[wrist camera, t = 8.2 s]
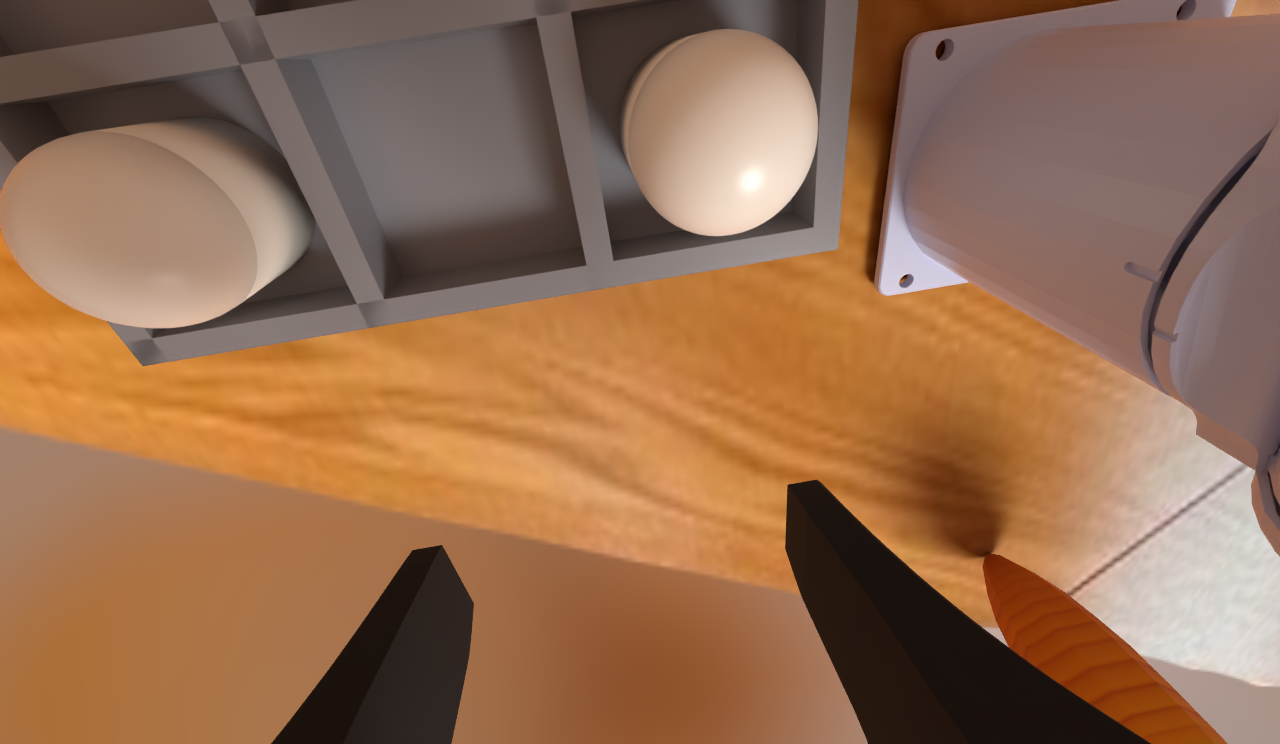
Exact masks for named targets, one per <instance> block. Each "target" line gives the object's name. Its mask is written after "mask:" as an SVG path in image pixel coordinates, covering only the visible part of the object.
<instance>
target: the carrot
mask: <svg viewBox="0 0 1280 744" xmlns="http://www.w3.org/2000/svg"><path fill="white" fill-rule="evenodd" d="M983 571H984V577H985V582H986V588H987V594H988V597H989V600H990V603H991V606H992V610H993V613H994V616H995V619H996V622H997V624H998V626H999V628H1000V630H1001V632H1002V634H1003V636H1004V638H1005V640H1006V642H1007V644H1008V646H1009V648H1010V649H1011V650H1013V651H1014V652H1016V653H1017V654H1018V655H1020V656H1021V657H1022V658H1024V659H1025V660H1027V661H1028V662H1029V663H1031V664H1032V665H1034V666H1035V667H1037V668H1038V669H1039V670H1041V671H1042V672H1044V673H1045V674H1046V675H1048V676H1049V677H1051V678H1052V679H1054V680H1055V681H1056V682H1058V683H1059V684H1061V685H1062V686H1064V687H1065V688H1067V689H1068V690H1070V691H1071V692H1073V693H1074V694H1076V695H1077V696H1079V697H1080V698H1082V699H1084V700H1085V701H1087V702H1088V703H1090V704H1091V705H1093V706H1094V707H1096V708H1097V709H1099V710H1100V711H1102V712H1103V713H1105V714H1107V715H1108V716H1110V717H1111V718H1113V719H1114V720H1116V721H1117V722H1119V723H1120V724H1122V725H1123V726H1125V727H1127V728H1128V729H1130V730H1131V731H1133V732H1134V733H1136V734H1137V735H1139V736H1140V737H1142V738H1143V739H1145V740H1147V741H1148V742H1150V743H1151V744H1227V743H1226V742H1225V740H1224V739H1223V738H1222V737H1221V736H1220V735H1219V734H1218V733H1217V732H1216V731H1215V730H1214V729H1213V728H1212V727H1211V726H1210V725H1209V724H1208V723H1207V722H1206V721H1205V720H1204V719H1203V718H1202V717H1201V716H1200V715H1199V714H1198V713H1197V712H1196V711H1195V710H1194V709H1193V708H1192V707H1191V706H1190V705H1189V703H1188V702H1186V700H1185V699H1184V698H1183V697H1182V696H1181V695H1180V694H1179V693H1178V692H1177V691H1176V690H1175V689H1174V688H1173V687H1172V686H1171V685H1170V684H1169V683H1168V682H1167V681H1165V680H1164V678H1162V677H1161V676H1160V675H1159V673H1157V672H1156V671H1155V670H1154V669H1153V668H1152V667H1151V666H1150V665H1149V664H1148V663H1147V662H1146V661H1145V660H1144V659H1143V658H1142V657H1141V656H1140V655H1139V654H1138V653H1137V652H1136V651H1135V650H1134V649H1133V648H1132V647H1131V646H1130V645H1129V644H1127V643H1126V642H1125V641H1124V640H1123V639H1121V638H1120V637H1119V636H1118V635H1117V634H1116V633H1114V632H1113V631H1112V630H1111V629H1110V628H1108V627H1107V626H1106V625H1105V624H1104V623H1102V622H1101V621H1100V620H1099V619H1098V618H1097V617H1095V616H1094V615H1093V614H1091V613H1090V612H1089V611H1088V610H1086V609H1085V608H1084V607H1083V606H1081V605H1080V604H1079V603H1078V602H1076V601H1075V600H1074V599H1073V598H1071V597H1070V596H1069V595H1067V594H1066V593H1065V592H1063V591H1062V590H1060V589H1059V588H1057V587H1056V586H1054V585H1052V584H1051V583H1049V582H1048V581H1046V580H1044V579H1043V578H1041V577H1040V576H1038V575H1036V574H1035V573H1033V572H1031V571H1029V570H1027V569H1025V568H1023V567H1021V566H1020V565H1018V564H1016V563H1014V562H1012V561H1010V560H1008V559H1006V558H1004V557H1002V556H1000V555H996V554H990V553H988V554H986V555H985V559H984V563H983Z"/></svg>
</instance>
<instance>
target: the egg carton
mask: <svg viewBox="0 0 1280 744" xmlns="http://www.w3.org/2000/svg"><path fill="white" fill-rule="evenodd" d="M858 2H859V0H0V189H1V195H0V227H1V231H2V234H3V237H4V240H5V242H6V245H7V247H8V249H9V251H10V252H11V254H12V256H13V257H14V259H15V260H16V262H17V263H18V264H19V265H20V267H21V268H22V269H23V270H24V271H25V272H26V273H27V275H28V276H29V277H30V278H31V279H32V280H33V281H35V282H36V283H37V284H38V285H39V286H40V287H41V288H43V289H44V290H45V291H47V292H48V293H49V294H51V295H52V296H54V297H55V298H57V299H58V300H60V301H61V302H63V303H65V304H67V305H68V306H70V307H72V308H74V309H76V310H79V311H81V312H83V313H85V314H88V315H91V316H93V317H96V318H99V319H102V320H106V321H107V322H108V323H109V325H110V326H111V327H112V328H113V330H114V331H115V332H116V333H117V335H118V336H119V337H120V338H121V340H122V341H123V342H124V343H125V344H126V346H127V347H128V348H129V349H130V351H131V352H132V353H133V354H134V356H135V357H136V358H137V359H138V361H139V362H140V363H141V364H142V366H147V365H153V364H159V363H164V362H170V361H176V360H182V359H188V358H194V357H200V356H206V355H212V354H218V353H224V352H230V351H236V350H242V349H248V348H254V347H260V346H265V345H271V344H277V343H283V342H289V341H295V340H301V339H307V338H313V337H319V336H325V335H331V334H337V333H343V332H349V331H355V330H360V329H366V328H372V327H378V326H384V325H390V324H396V323H402V322H408V321H414V320H420V319H426V318H432V317H438V316H444V315H450V314H456V313H461V312H467V311H473V310H479V309H485V308H491V307H497V306H503V305H509V304H515V303H521V302H527V301H533V300H539V299H545V298H551V297H557V296H562V295H568V294H574V293H580V292H586V291H592V290H598V289H604V288H610V287H616V286H622V285H628V284H634V283H640V282H646V281H652V280H657V279H663V278H669V277H675V276H681V275H687V274H693V273H699V272H705V271H711V270H717V269H723V268H729V267H735V266H741V265H747V264H753V263H758V262H764V261H770V260H776V259H782V258H788V257H794V256H800V255H806V254H812V253H818V252H824V251H830V250H836V249H838V242H839V230H840V218H841V206H842V194H843V182H844V170H845V158H846V146H847V134H848V122H849V110H850V98H851V86H852V74H853V62H854V50H855V38H856V26H857V14H858Z"/></svg>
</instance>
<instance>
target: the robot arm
mask: <svg viewBox="0 0 1280 744" xmlns="http://www.w3.org/2000/svg"><path fill="white" fill-rule="evenodd" d="M1235 3H1236V0H1117V1H1111V2H1105V3H1098V4H1092V5H1086V6H1080V7H1074V8H1068V9H1062V10H1055V11H1049V12H1043V13H1037V14H1031V15H1025V16H1019V17H1012V18H1006V19H1000V20H994V21H988V22H982V23H976V24H969V25H963V26H957V27H951V28H945V29H939V30H933V31H926V32H922V33H920V34H917V35H916V36H914V37H913V38H912V39H911V40H910V41H909V43H908V45H907V46H906V48H905V52H904V55H903V62H902V70H901V77H900V85H899V93H898V101H897V108H896V116H895V124H894V132H893V140H892V147H891V155H890V163H889V171H888V178H887V186H886V194H885V202H884V209H883V217H882V225H881V233H880V240H879V248H878V256H877V264H876V271H875V279H874V286H875V288H876V290H877V291H878V292H880V293H881V294H883V295H885V296H891V295H897V294H902V293H908V292H914V291H920V290H926V289H932V288H938V287H944V286H950V285H955V284H961V283H967V282H971V283H972V284H974V285H976V286H978V287H979V288H981V289H983V290H985V291H986V292H988V293H990V294H992V295H993V296H995V297H997V298H999V299H1000V300H1002V301H1004V302H1006V303H1007V304H1009V305H1011V306H1012V307H1014V308H1016V309H1018V310H1019V311H1021V312H1023V313H1025V314H1026V315H1028V316H1030V317H1032V318H1033V319H1035V320H1037V321H1039V322H1040V323H1042V324H1044V325H1046V326H1047V327H1049V328H1051V329H1053V330H1054V331H1056V332H1058V333H1060V334H1061V335H1063V336H1065V337H1067V338H1068V339H1070V340H1072V341H1074V342H1075V343H1077V344H1079V345H1081V346H1082V347H1084V348H1086V349H1088V350H1089V351H1091V352H1093V353H1095V354H1096V355H1098V356H1100V357H1102V358H1103V359H1105V360H1107V361H1109V362H1110V363H1112V364H1114V365H1116V366H1117V367H1119V368H1121V369H1123V370H1124V371H1126V372H1128V373H1130V374H1131V375H1133V376H1135V377H1137V378H1138V379H1140V380H1142V381H1144V382H1145V383H1147V384H1149V385H1151V386H1152V387H1154V388H1156V389H1158V390H1159V391H1161V392H1163V393H1165V394H1166V395H1169V396H1171V397H1173V398H1175V399H1176V400H1178V401H1180V402H1181V403H1183V404H1184V405H1186V406H1187V407H1189V408H1190V409H1192V410H1193V412H1194V414H1195V415H1196V419H1197V428H1196V435H1198V436H1200V437H1201V438H1203V439H1204V440H1206V441H1208V442H1209V443H1211V444H1213V445H1214V446H1216V447H1218V448H1219V449H1221V450H1223V451H1224V452H1226V453H1227V454H1229V455H1231V456H1232V457H1234V458H1236V459H1237V460H1239V461H1241V462H1242V463H1244V464H1246V465H1247V466H1249V467H1250V468H1252V469H1254V470H1255V474H1254V477H1253V480H1252V483H1251V490H1252V505H1253V508H1254V511H1255V514H1256V517H1257V520H1258V523H1259V526H1260V528H1261V530H1262V531H1263V533H1264V535H1265V536H1266V538H1267V539H1268V541H1269V542H1270V544H1271V546H1272V547H1273V549H1274V550H1275V552H1276V553H1277V554H1278V555H1279V556H1280V14H1270V15H1255V16H1239V17H1230V15H1231V13H1232V11H1233V8H1234V6H1235ZM1181 5H1182V8H1181V11H1180V13H1179V15H1178V16H1177V17H1176V15H1177V11H1178V9H1179V8H1180V6H1181ZM942 40H943V41H944V42H945V51H944V54H943V55H942V56H941V58H940V59H937V58H936V52H935V51H936V49H937V46H938V45H939V43H940V42H941V41H942ZM906 274H907V275H908V276H907V278H906V280H905V281H904V282H902V283H900V284H899V281H900V279H901V278H902V277H903V276H904V275H906ZM785 549H786V552H787V555H788V558H789V561H790V564H791V567H792V570H793V573H794V576H795V579H796V582H797V585H798V587H799V590H800V593H801V596H802V598H803V601H804V602H805V605H806V607H807V609H808V611H809V614H810V616H811V618H812V620H813V622H814V624H815V627H816V629H817V631H818V633H819V635H820V637H821V640H822V642H823V644H824V646H825V648H826V650H827V653H828V655H829V657H830V659H831V661H832V663H833V665H834V667H835V670H836V672H837V674H838V676H839V678H840V680H841V682H842V685H843V687H844V689H845V691H846V693H847V695H848V697H849V700H850V702H851V704H852V706H853V708H854V710H855V713H856V715H857V718H858V720H859V722H860V725H861V727H862V729H863V732H864V734H865V736H866V739H867V742H868V744H1151V743H1150V742H1148V741H1147V740H1145V739H1143V738H1142V737H1140V736H1139V735H1137V734H1136V733H1134V732H1133V731H1131V730H1130V729H1128V728H1127V727H1125V726H1123V725H1122V724H1120V723H1119V722H1117V721H1116V720H1114V719H1113V718H1111V717H1110V716H1108V715H1107V714H1105V713H1103V712H1102V711H1100V710H1099V709H1097V708H1096V707H1094V706H1093V705H1091V704H1090V703H1088V702H1087V701H1085V700H1084V699H1082V698H1080V697H1079V696H1077V695H1076V694H1074V693H1073V692H1071V691H1070V690H1068V689H1067V688H1065V687H1064V686H1062V685H1061V684H1059V683H1058V682H1056V681H1055V680H1054V679H1052V678H1051V677H1049V676H1048V675H1046V674H1045V673H1044V672H1042V671H1041V670H1039V669H1038V668H1037V667H1035V666H1034V665H1032V664H1031V663H1029V662H1028V661H1027V660H1025V659H1024V658H1022V657H1021V656H1020V655H1018V654H1017V653H1016V652H1014V651H1013V650H1011V649H1010V648H1009V647H1007V646H1006V645H1005V644H1003V643H1002V642H1000V641H999V640H998V639H997V638H995V637H994V636H993V635H991V634H990V633H989V632H987V631H986V630H985V629H983V628H982V627H981V626H980V625H978V624H977V623H976V622H974V621H973V620H972V619H971V618H969V617H968V616H967V615H966V614H964V613H963V612H962V611H960V610H959V609H958V608H957V607H956V606H954V605H953V604H952V603H951V602H949V601H948V600H947V599H946V598H945V597H943V596H942V595H941V594H940V593H939V592H937V591H936V590H935V589H934V588H933V587H931V586H930V585H929V584H928V583H927V582H925V581H924V580H923V579H922V578H921V577H920V576H919V575H917V574H916V573H915V572H914V571H913V570H912V569H911V568H909V567H908V566H907V565H906V564H905V563H904V562H903V561H902V560H901V559H899V558H898V557H897V556H896V555H895V554H894V553H893V552H892V551H891V550H889V549H888V548H887V547H886V546H885V545H884V544H883V543H882V542H881V541H880V540H879V539H877V538H876V537H875V536H874V535H873V534H872V533H871V532H870V531H869V530H868V529H867V528H866V527H865V526H864V525H863V524H862V523H861V522H860V521H859V520H858V519H857V518H856V517H855V516H854V515H853V514H851V513H850V512H849V511H848V510H847V509H846V508H845V507H844V506H843V505H842V504H841V503H840V502H839V501H838V499H837V498H836V497H835V496H834V495H833V494H832V493H831V492H830V491H829V490H828V489H827V488H826V487H825V486H824V485H823V484H822V483H821V482H819V481H818V480H812V481H807V482H801V483H795V484H789V485H788V489H787V517H786V544H785ZM473 607H474V603H473V601H472V599H471V597H470V596H469V594H468V592H467V590H466V588H465V587H464V585H463V583H462V581H461V579H460V577H459V576H458V574H457V572H456V570H455V568H454V566H453V564H452V563H451V561H450V559H449V557H448V555H447V553H446V552H445V550H444V548H443V546H442V545H440V546H434V547H429V548H423V549H417V550H413V551H412V552H411V553H410V555H409V556H408V557H407V559H406V560H405V562H404V563H403V565H402V566H401V568H400V569H399V570H398V572H397V573H396V575H395V576H394V577H393V579H392V580H391V582H390V583H389V585H388V586H387V588H386V589H385V591H384V592H383V593H382V595H381V596H380V598H379V599H378V601H377V602H376V604H375V605H374V607H373V608H372V609H371V611H370V612H369V614H368V615H367V617H366V618H365V620H364V621H363V622H362V624H361V625H360V627H359V628H358V629H357V631H356V632H355V634H354V635H353V636H352V638H351V639H350V641H349V642H348V644H347V645H346V646H345V648H344V649H343V650H342V652H341V653H340V655H339V656H338V657H337V659H336V660H335V662H334V663H333V664H332V666H331V667H330V669H329V670H328V671H327V673H326V674H325V675H324V676H323V678H322V679H321V680H320V682H319V683H318V684H317V686H316V687H315V688H314V690H313V691H312V692H311V693H310V695H309V696H308V697H307V699H306V700H305V702H304V703H303V704H302V705H301V707H300V708H299V709H298V710H297V712H296V713H295V715H294V716H293V717H292V718H291V720H290V721H289V722H288V723H287V725H286V726H285V727H284V728H283V730H282V731H281V732H280V734H279V735H278V736H277V737H276V739H275V740H274V741H273V742H272V743H271V744H451V743H452V738H453V733H454V728H455V723H456V719H457V714H458V709H459V704H460V699H461V694H462V690H463V685H464V680H465V675H466V670H467V664H468V659H469V652H470V643H471V633H472V620H473Z"/></svg>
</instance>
